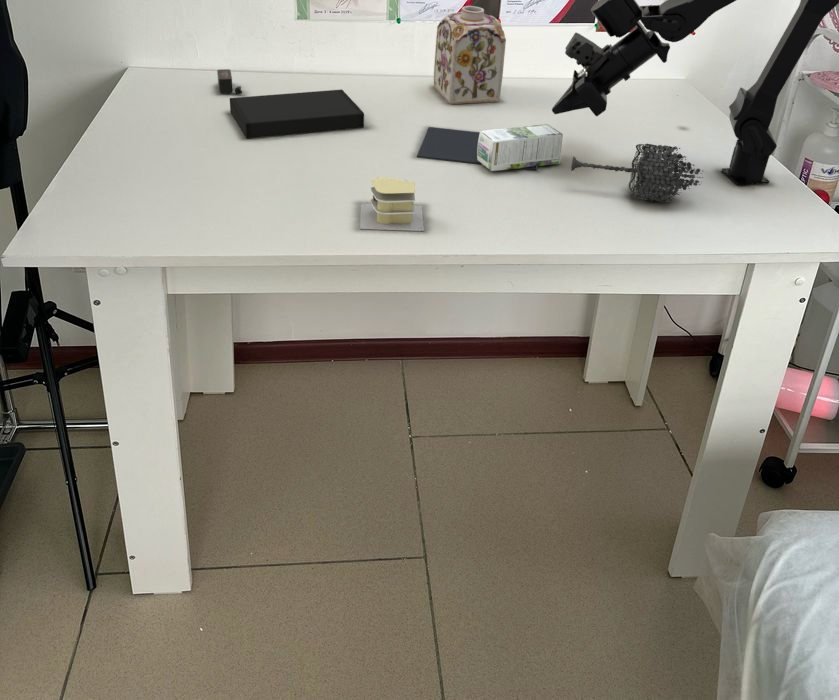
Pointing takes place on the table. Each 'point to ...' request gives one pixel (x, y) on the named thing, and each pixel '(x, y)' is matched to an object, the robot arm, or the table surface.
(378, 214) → the stacked layers on plate
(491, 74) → the decorative jar
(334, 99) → the external hard drive
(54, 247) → the table surface
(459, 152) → the mat
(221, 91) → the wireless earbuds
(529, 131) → the syrup box
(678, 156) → the grey chandelier
